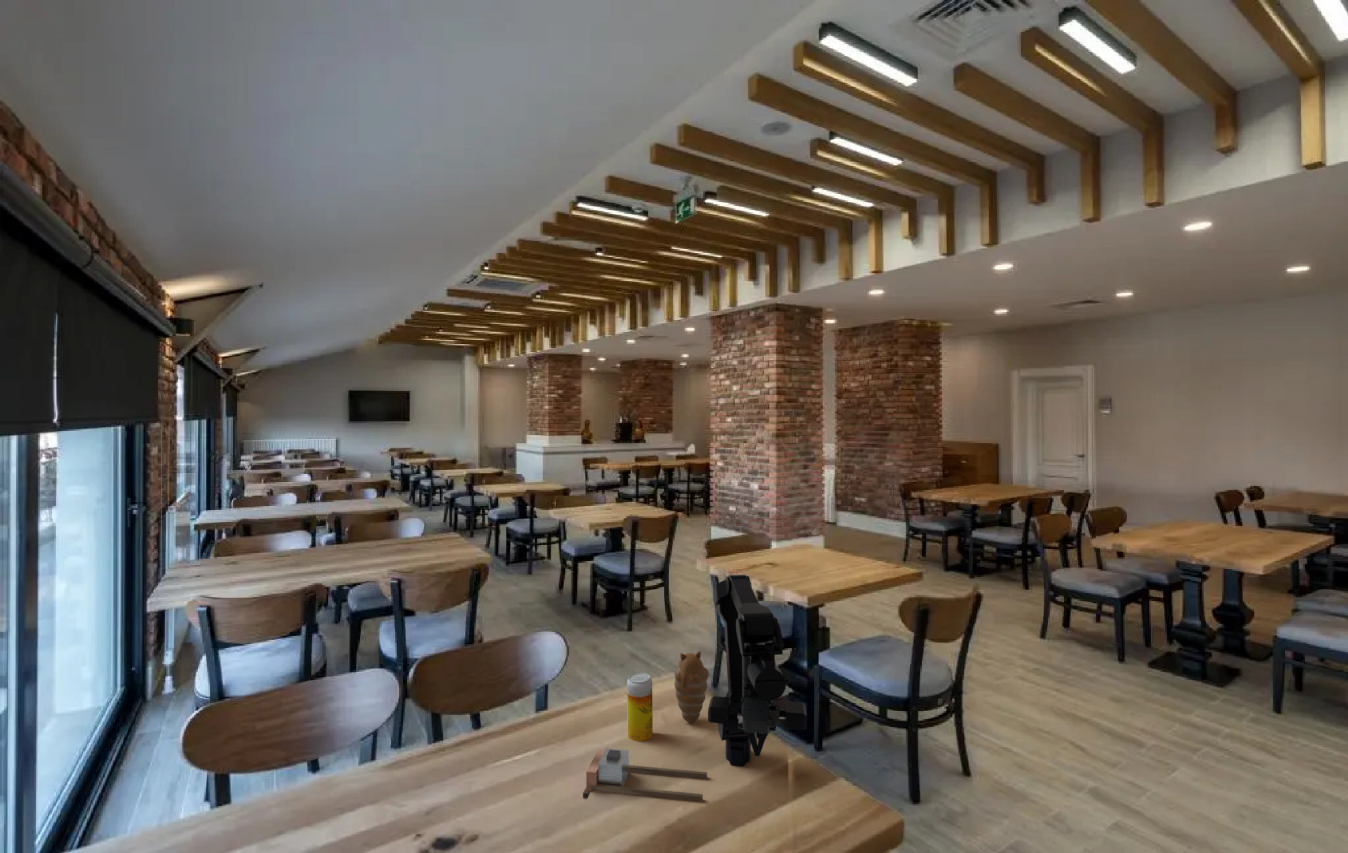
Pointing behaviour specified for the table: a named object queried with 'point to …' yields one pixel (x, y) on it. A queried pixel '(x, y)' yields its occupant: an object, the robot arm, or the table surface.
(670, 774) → the guide board
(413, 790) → the table surface
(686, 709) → the cat ice cream
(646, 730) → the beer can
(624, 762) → the block
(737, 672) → the robot arm
